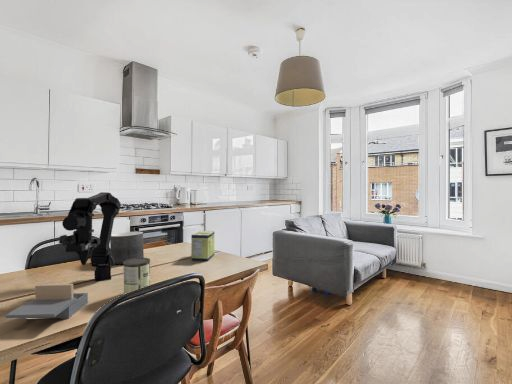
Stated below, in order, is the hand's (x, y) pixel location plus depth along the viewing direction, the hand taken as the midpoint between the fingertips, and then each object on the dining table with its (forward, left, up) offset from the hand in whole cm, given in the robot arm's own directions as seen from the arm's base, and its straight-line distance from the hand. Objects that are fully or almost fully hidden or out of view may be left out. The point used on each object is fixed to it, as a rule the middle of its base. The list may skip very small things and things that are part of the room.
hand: (83, 264), depth 116 cm
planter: (-20, -43, -12) cm, 49 cm away
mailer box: (+7, +15, -12) cm, 20 cm away
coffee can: (-19, +12, -12) cm, 26 cm away
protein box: (-62, -30, -12) cm, 70 cm away
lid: (+10, +22, -8) cm, 26 cm away
